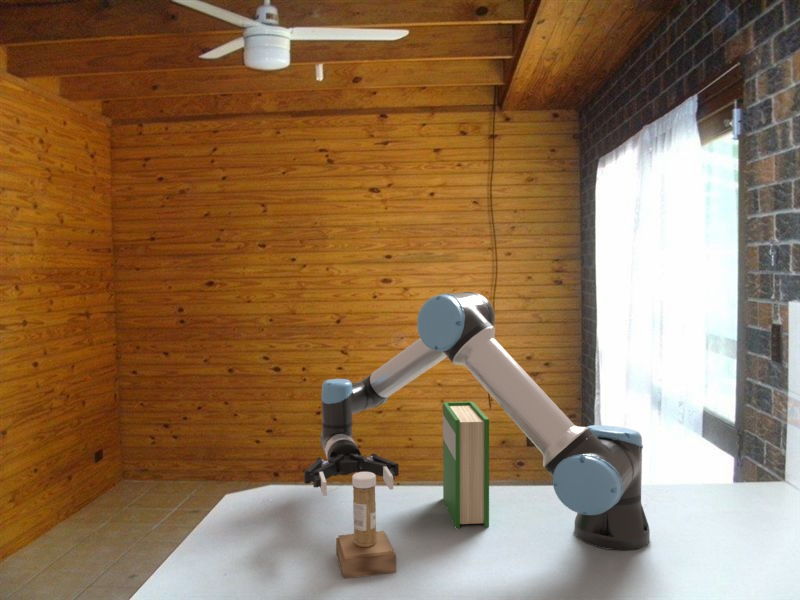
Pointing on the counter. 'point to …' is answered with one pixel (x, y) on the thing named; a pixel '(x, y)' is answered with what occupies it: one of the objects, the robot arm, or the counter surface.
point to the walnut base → (365, 556)
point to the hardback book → (466, 463)
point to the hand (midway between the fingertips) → (358, 486)
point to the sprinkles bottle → (364, 509)
